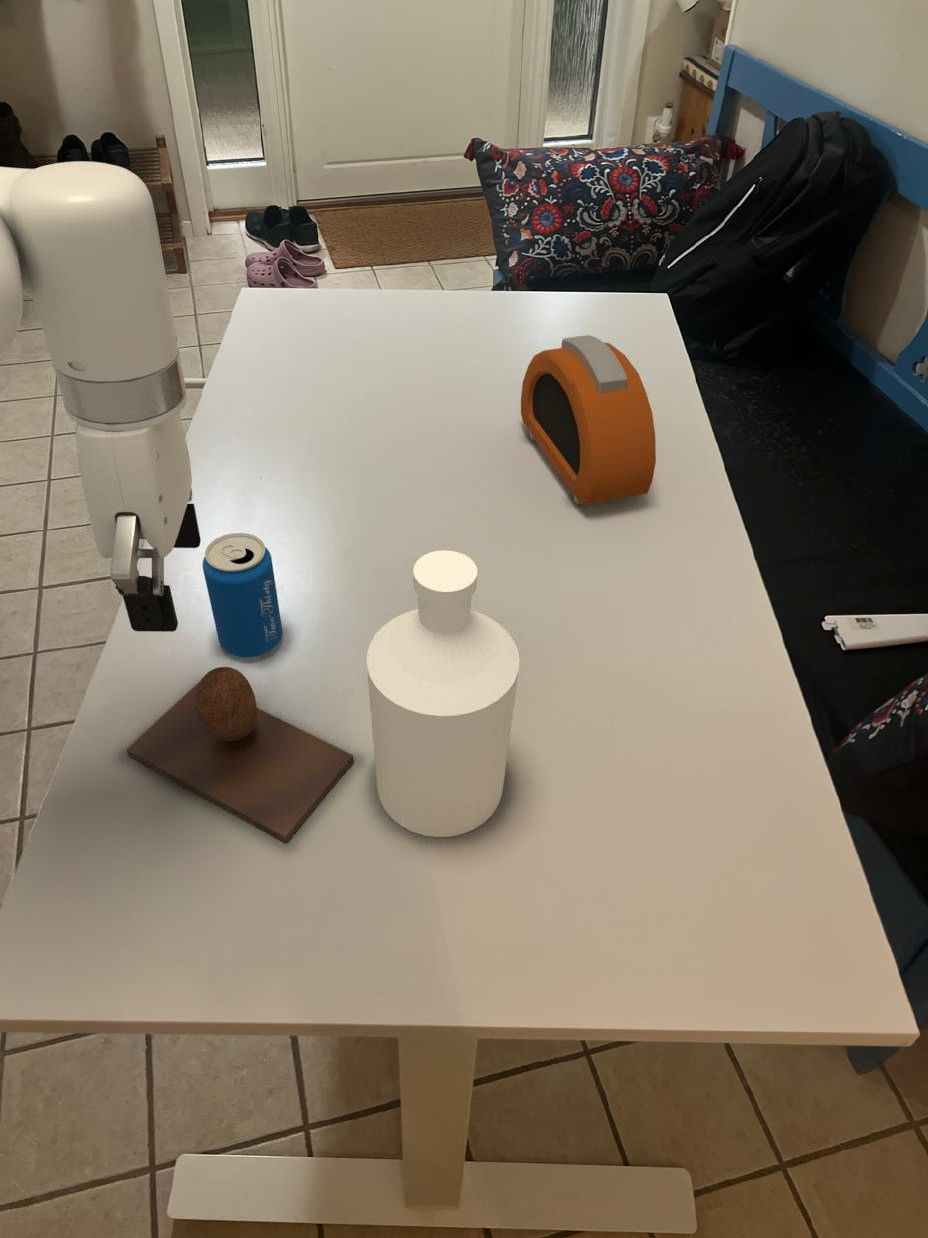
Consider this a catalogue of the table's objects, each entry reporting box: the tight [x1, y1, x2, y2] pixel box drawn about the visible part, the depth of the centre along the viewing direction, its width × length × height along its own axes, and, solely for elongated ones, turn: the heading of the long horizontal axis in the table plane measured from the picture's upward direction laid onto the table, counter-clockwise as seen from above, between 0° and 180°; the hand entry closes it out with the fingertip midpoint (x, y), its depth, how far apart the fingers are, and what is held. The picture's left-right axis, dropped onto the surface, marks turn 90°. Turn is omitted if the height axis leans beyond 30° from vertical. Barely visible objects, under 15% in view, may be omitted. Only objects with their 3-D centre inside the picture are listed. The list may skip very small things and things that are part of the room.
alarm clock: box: [520, 334, 657, 506], centre depth 112 cm, size 23×9×17 cm, turn 18°
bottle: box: [366, 550, 521, 838], centre depth 71 cm, size 12×12×25 cm
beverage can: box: [202, 532, 283, 659], centre depth 88 cm, size 6×6×12 cm
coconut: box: [196, 666, 258, 741], centre depth 79 cm, size 5×5×8 cm
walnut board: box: [125, 681, 355, 844], centre depth 81 cm, size 18×10×1 cm, turn 61°
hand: (168, 585), depth 68 cm, fingers open, 9 cm apart
